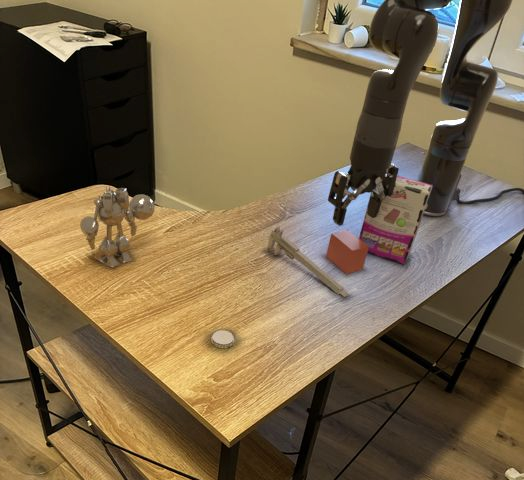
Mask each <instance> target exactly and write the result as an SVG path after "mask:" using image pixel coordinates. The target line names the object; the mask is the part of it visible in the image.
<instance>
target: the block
mask: <svg viewBox="0 0 524 480" xmlns="http://www.w3.org/2000/svg"><path fill="white" fill-rule="evenodd" d="M328 242H329V243H328V246H327V250H326V253H325V257H326V258H327V259H328V260H329V261H330V262H331V263H333V265H335V266H336V267H337V268H339V269H340V271H342V272H343V273H344V274H345V275H349V274H352V273H355V272H359V271H362V270H363V269H364V266H365V263H366V260H367V259H366V258H367V256H368V253H367V252H368V249H369V246H368V245H367V244H365V243H364V242H363V241H362V240H360V239H359V237H358V236H356V235H355V233H353V232H352V231H350V230H349V229H344V230H339V231H336V232H331V233H330V238H329V241H328Z"/></svg>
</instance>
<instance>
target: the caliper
mask: <svg viewBox="0 0 524 480" xmlns="http://www.w3.org/2000/svg"><path fill="white" fill-rule="evenodd" d="M283 233H284V229H282V230H281V227H280V226H276V227H275V229H272V230H271V233H270V234H269V237H268V242H267V252H271V251H272V250H273V249H274V251H273V256H277V255H278V254H280V253H281V252H282V251H283V253H284V254H285V255H286V256H287V257H289V258H290V260H296V261H298V262H299V263H300V264H301V265H302V266H303V267H305V268H306V269H307V270H308V271H309V272H310V273H312V274H313V275H314V276H315V277H316V278H318V279H319V280H320V281H321V282H322V283H324V285H326V286H327V287H328V288H329V289H330V290H331V291H333V292H334V293H335V294H337V295H338V296H339V295H341V296H342V297H343V298H345V297H347V296H348V292H346V291H345V288H344V286H342V285H341V284H340V283H339V282H338V281H336V279H334V278H333V277H332V276H330V275H329V274H328V273H327V272H326V271H324V269H322V267H320V266H319V265H318V264H316V263H315V262H314V261H313V260H311V258H309V257H308V256H307V255H305V254H304V253H303V252H301V250H300V248H299V246H297V245H296V244H295V243H294V242H292V241H291V240H290V239H289V238H288V237H287V236H286V235H283ZM275 244H277V245H276V247H275V248H274V246H275Z"/></svg>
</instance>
